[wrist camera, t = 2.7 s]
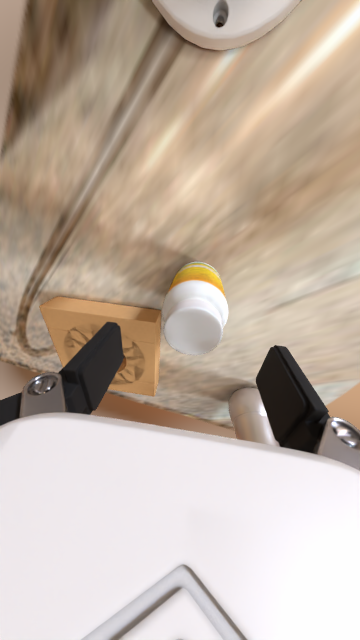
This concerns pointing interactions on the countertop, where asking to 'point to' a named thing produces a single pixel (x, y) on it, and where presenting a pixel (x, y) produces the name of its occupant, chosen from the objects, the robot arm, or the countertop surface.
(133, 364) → the socket pad
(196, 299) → the supplement bottle
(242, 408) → the plastic bottle
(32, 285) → the countertop surface
